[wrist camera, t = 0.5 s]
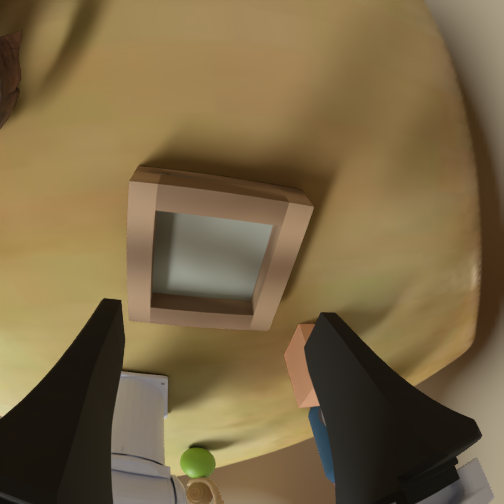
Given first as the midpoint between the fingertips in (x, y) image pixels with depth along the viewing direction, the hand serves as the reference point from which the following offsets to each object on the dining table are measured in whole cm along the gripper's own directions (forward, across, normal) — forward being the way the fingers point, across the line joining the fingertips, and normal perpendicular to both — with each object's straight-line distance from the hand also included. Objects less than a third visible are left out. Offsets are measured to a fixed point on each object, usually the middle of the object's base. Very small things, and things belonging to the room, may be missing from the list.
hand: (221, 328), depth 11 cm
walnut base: (+10, 0, +3) cm, 10 cm away
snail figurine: (+10, -3, +40) cm, 41 cm away
